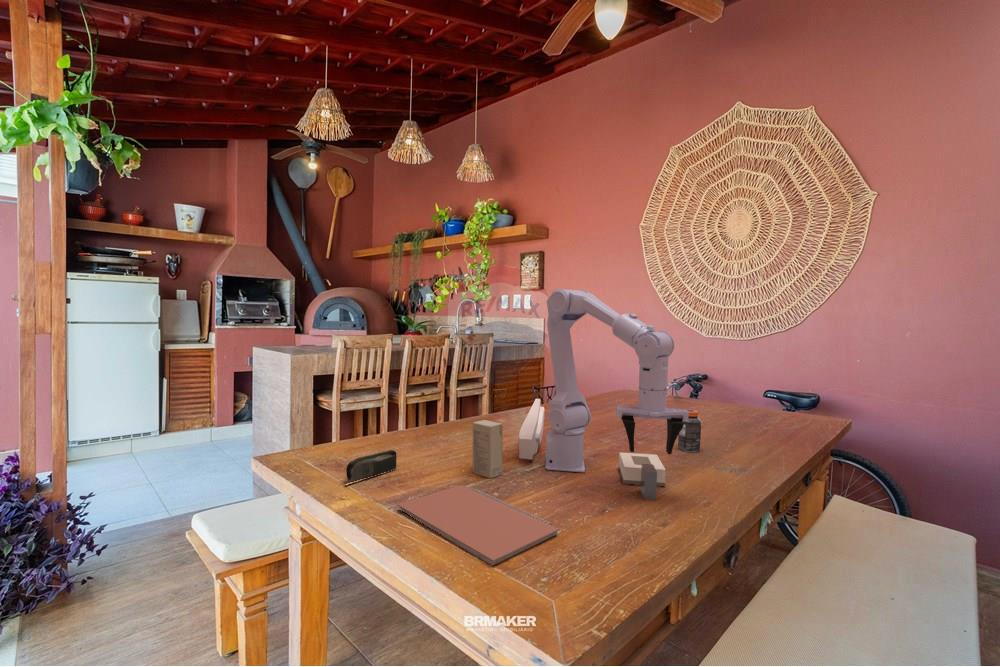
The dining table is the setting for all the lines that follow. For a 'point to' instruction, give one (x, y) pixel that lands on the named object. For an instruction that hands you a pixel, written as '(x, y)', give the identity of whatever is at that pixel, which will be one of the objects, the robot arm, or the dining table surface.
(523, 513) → the notebook
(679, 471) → the dining table surface
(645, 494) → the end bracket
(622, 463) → the post block
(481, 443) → the skincare box
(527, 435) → the shelf bracket
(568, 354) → the robot arm
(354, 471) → the black rounded block
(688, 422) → the pill bottle
